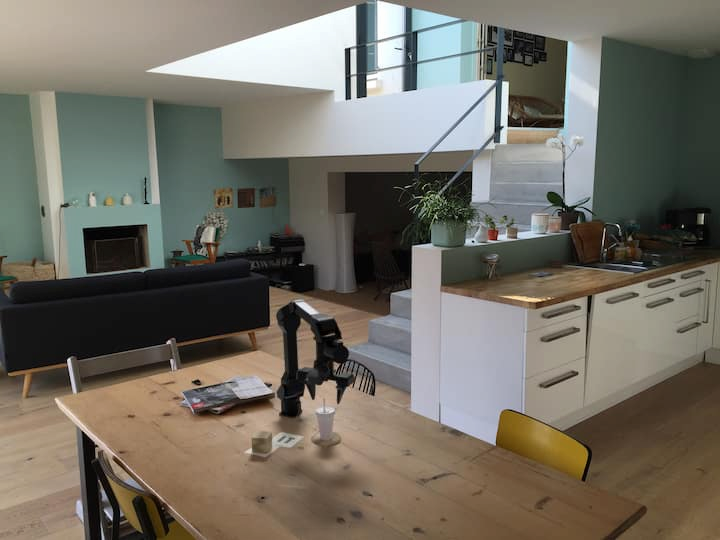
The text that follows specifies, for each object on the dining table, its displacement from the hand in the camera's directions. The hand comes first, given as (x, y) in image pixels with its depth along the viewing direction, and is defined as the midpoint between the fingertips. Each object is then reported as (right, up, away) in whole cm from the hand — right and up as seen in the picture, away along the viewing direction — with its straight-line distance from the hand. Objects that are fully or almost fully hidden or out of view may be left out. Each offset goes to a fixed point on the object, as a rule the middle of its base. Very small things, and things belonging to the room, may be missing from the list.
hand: (325, 401), depth 196 cm
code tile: (-13, -13, +1) cm, 19 cm away
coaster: (0, -13, +2) cm, 13 cm away
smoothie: (0, -13, +2) cm, 13 cm away
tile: (-20, -14, -5) cm, 25 cm away
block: (-20, -14, -5) cm, 25 cm away
